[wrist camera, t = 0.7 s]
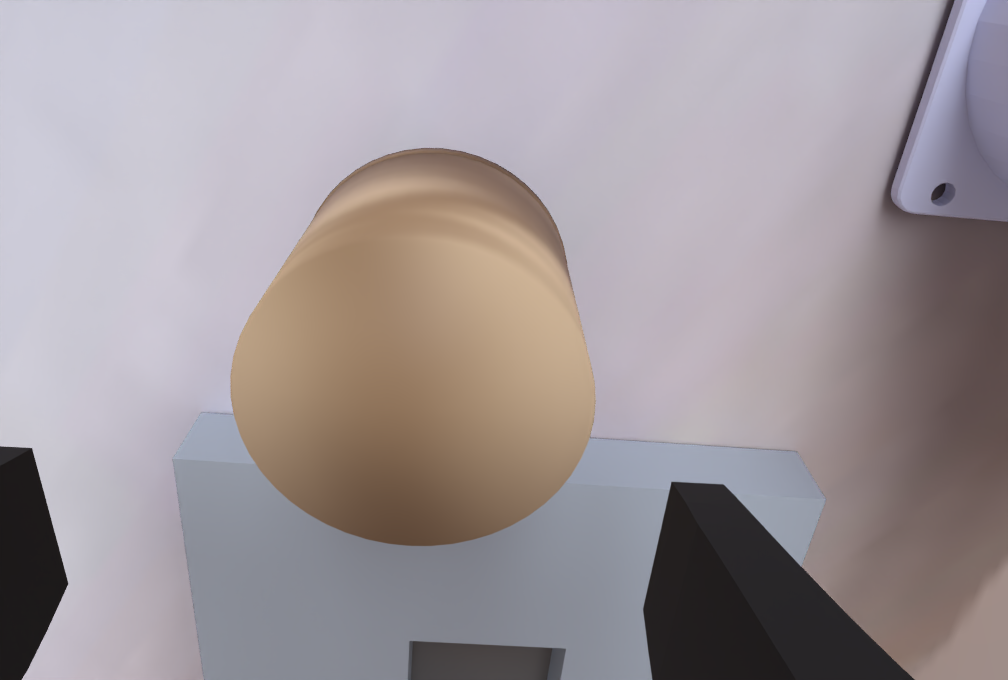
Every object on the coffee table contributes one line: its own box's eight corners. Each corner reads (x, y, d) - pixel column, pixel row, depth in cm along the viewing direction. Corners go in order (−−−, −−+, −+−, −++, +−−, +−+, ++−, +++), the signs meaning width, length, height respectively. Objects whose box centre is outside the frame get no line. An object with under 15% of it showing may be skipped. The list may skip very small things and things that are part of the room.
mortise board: (797, 451, 20) (826, 499, 19) (680, 801, 28) (693, 858, 26) (201, 412, 20) (172, 459, 18) (244, 784, 27) (226, 843, 25)
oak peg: (575, 140, 16) (624, 253, 10) (545, 363, 19) (571, 556, 13) (316, 118, 16) (212, 220, 10) (322, 347, 19) (243, 536, 13)
